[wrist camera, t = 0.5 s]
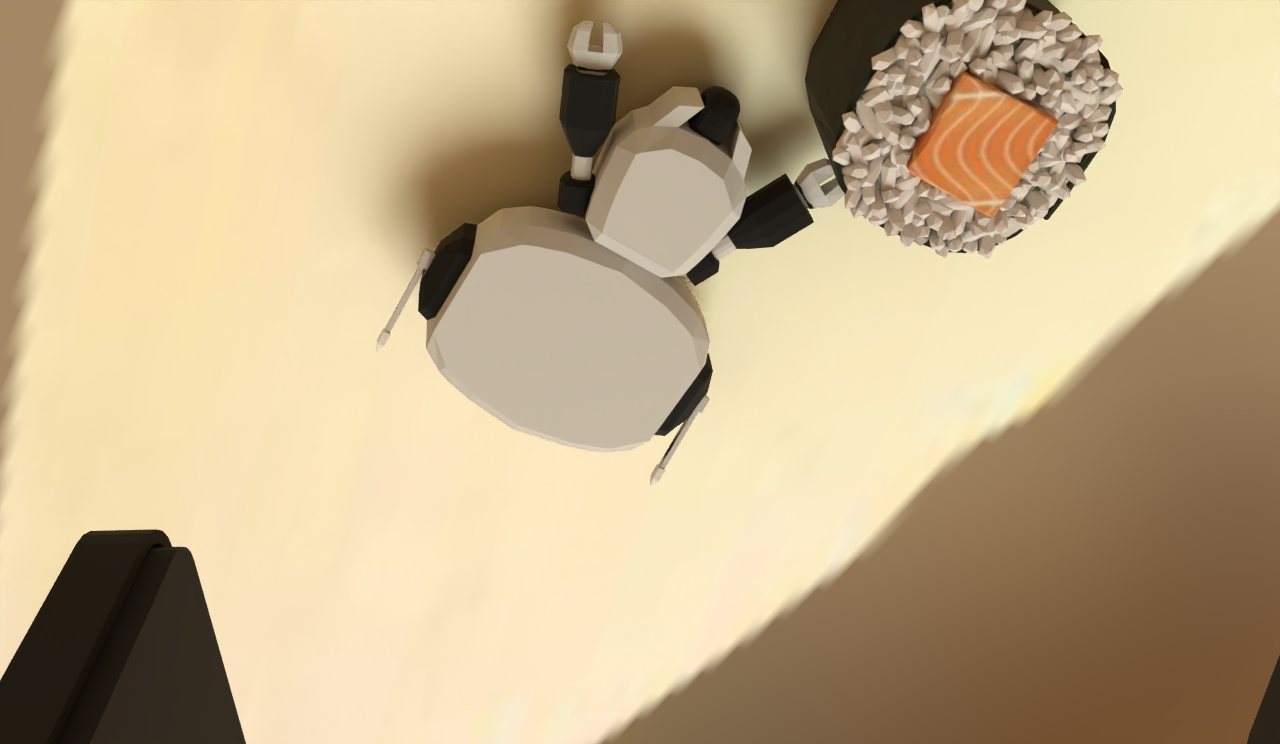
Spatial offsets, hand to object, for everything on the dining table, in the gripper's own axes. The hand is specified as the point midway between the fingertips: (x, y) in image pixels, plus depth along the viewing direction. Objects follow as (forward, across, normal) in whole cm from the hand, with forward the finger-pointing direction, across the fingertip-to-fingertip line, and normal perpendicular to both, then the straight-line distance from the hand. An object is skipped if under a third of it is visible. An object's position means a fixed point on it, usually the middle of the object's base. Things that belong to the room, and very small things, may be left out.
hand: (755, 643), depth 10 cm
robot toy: (+35, +1, +13) cm, 37 cm away
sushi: (+35, -10, +7) cm, 37 cm away
